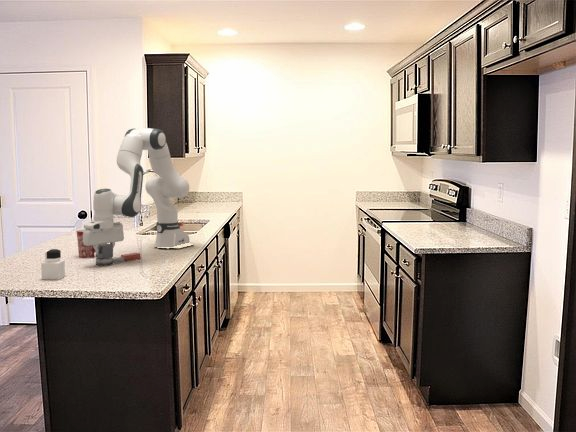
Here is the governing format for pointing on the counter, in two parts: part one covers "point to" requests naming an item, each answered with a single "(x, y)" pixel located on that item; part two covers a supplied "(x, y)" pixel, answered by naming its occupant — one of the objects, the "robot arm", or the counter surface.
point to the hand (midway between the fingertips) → (104, 252)
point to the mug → (84, 246)
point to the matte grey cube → (105, 251)
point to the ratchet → (117, 259)
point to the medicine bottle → (53, 265)
